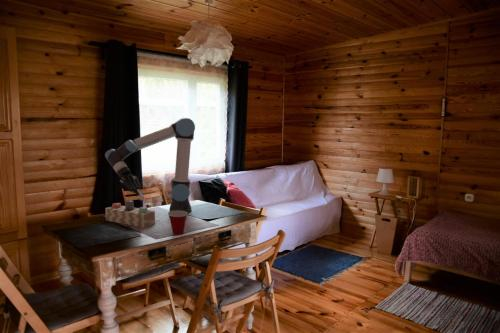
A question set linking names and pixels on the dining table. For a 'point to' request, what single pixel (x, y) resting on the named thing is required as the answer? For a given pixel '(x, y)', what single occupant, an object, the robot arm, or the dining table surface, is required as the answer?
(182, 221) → the plastic cup
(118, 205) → the red button
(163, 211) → the dining table surface
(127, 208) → the grey button
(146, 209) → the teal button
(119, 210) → the control box
